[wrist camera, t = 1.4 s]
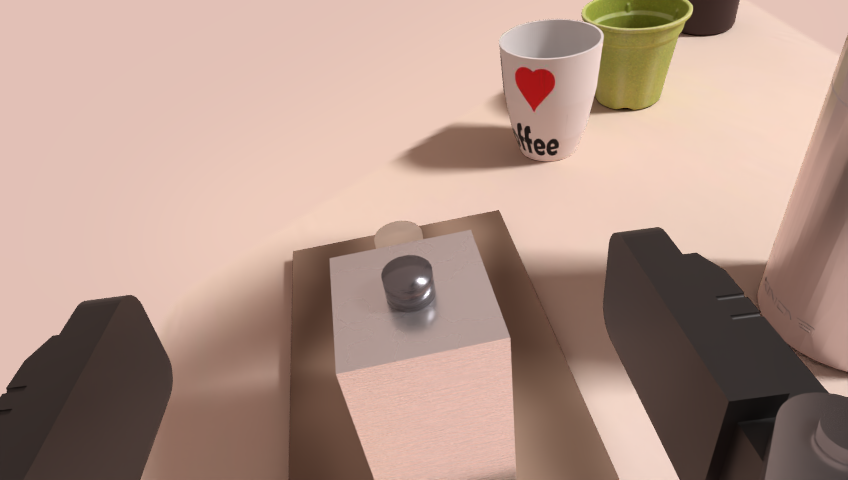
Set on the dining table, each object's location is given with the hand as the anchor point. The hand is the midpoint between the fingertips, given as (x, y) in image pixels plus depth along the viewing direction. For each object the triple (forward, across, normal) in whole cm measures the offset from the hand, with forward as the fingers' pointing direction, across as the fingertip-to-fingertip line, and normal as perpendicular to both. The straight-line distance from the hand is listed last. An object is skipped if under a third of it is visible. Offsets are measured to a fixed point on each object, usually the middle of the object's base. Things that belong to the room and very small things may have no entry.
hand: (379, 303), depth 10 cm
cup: (+39, -14, +18) cm, 45 cm away
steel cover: (+11, 0, +19) cm, 22 cm away
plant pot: (+46, -23, +17) cm, 54 cm away
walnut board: (+18, 0, +20) cm, 27 cm away
